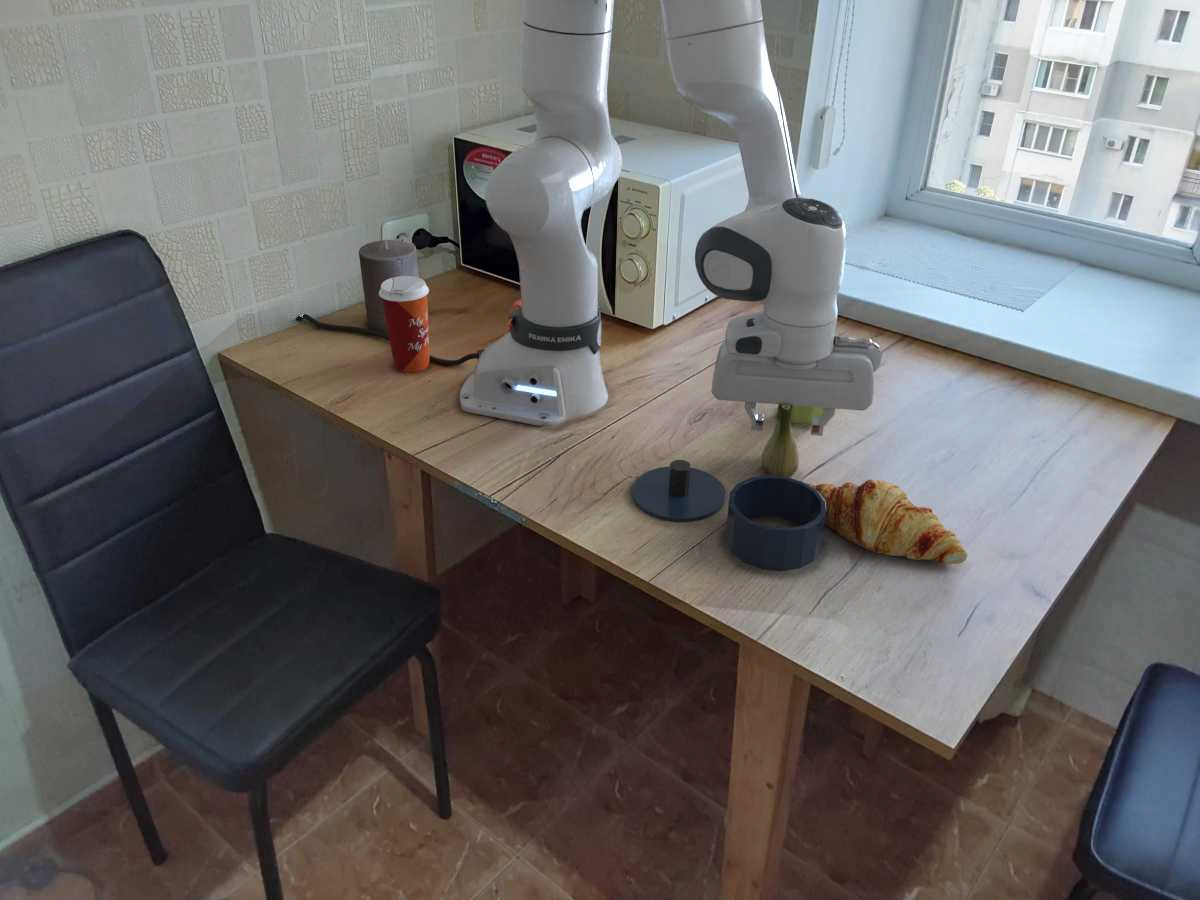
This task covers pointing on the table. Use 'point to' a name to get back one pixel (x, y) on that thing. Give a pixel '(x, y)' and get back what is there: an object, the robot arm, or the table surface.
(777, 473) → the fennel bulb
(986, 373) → the table surface
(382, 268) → the pillar candle
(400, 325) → the paper cup
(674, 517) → the lid
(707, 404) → the table surface
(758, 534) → the pot
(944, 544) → the croissant
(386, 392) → the table surface
